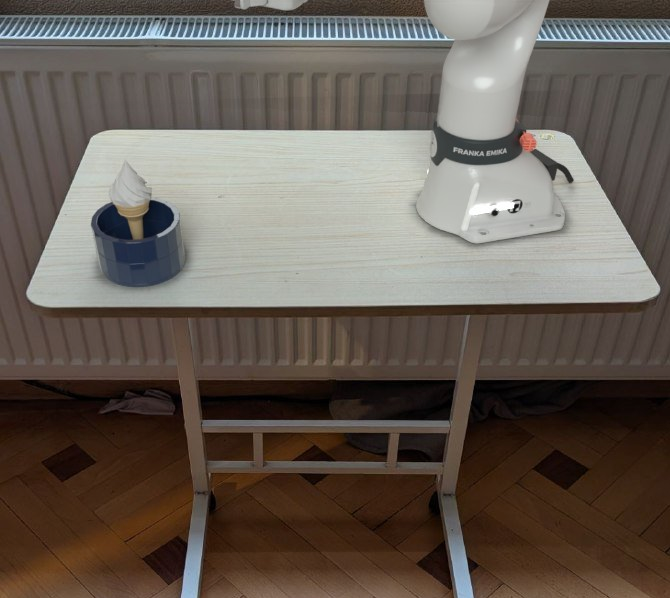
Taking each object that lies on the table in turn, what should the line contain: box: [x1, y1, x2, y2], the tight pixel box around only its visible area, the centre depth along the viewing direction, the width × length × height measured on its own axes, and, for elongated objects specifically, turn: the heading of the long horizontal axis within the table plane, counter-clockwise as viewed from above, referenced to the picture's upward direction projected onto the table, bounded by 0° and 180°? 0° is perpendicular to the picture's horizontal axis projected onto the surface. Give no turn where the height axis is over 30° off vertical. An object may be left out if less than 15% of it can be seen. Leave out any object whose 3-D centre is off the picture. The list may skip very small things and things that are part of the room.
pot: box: [90, 196, 186, 288], centre depth 113 cm, size 12×12×7 cm
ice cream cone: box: [108, 159, 153, 240], centre depth 110 cm, size 6×6×15 cm
